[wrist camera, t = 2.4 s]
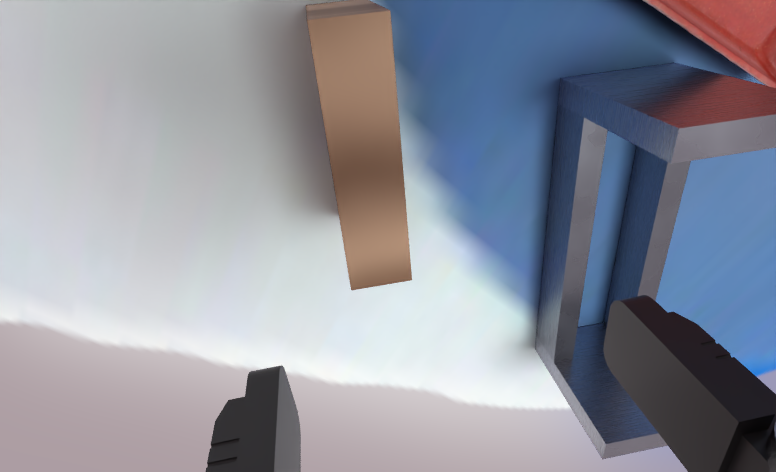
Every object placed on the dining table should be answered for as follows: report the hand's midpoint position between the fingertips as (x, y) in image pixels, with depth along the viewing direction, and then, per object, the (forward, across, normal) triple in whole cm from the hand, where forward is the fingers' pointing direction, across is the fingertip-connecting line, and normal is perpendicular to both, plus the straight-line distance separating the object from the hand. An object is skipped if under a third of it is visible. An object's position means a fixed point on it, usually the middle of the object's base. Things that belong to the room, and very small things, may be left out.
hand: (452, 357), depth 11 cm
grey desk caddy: (+18, -15, +9) cm, 26 cm away
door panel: (+18, +1, -1) cm, 18 cm away
